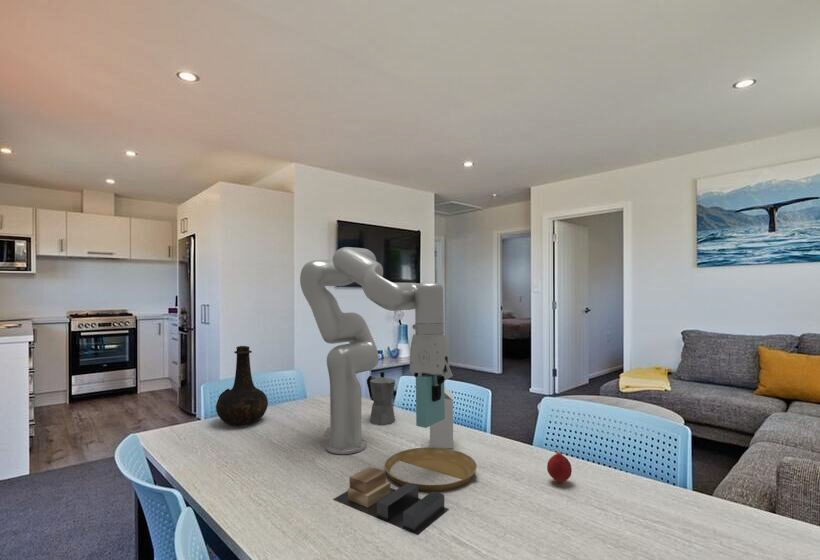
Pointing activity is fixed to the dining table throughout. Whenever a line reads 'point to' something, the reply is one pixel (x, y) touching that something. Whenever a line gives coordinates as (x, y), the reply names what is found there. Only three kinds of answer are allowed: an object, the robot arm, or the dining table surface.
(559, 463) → the onion
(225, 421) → the glass bottle
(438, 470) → the plant saucer
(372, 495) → the offcut low
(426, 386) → the teal board
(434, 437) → the milk carton
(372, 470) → the offcut high
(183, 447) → the dining table surface
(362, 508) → the rack
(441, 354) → the robot arm
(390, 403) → the coffeepot
